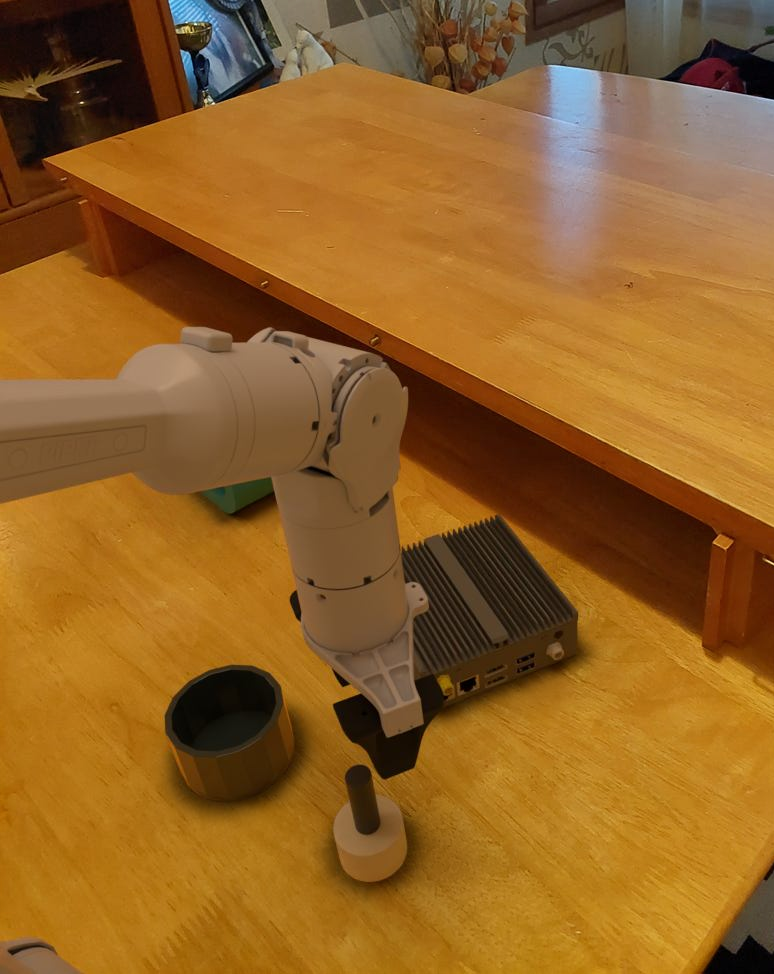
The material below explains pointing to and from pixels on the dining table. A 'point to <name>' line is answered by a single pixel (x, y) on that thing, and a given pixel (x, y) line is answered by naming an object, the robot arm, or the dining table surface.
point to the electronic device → (485, 610)
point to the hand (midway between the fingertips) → (375, 721)
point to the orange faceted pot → (230, 732)
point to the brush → (369, 830)
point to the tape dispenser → (239, 494)
